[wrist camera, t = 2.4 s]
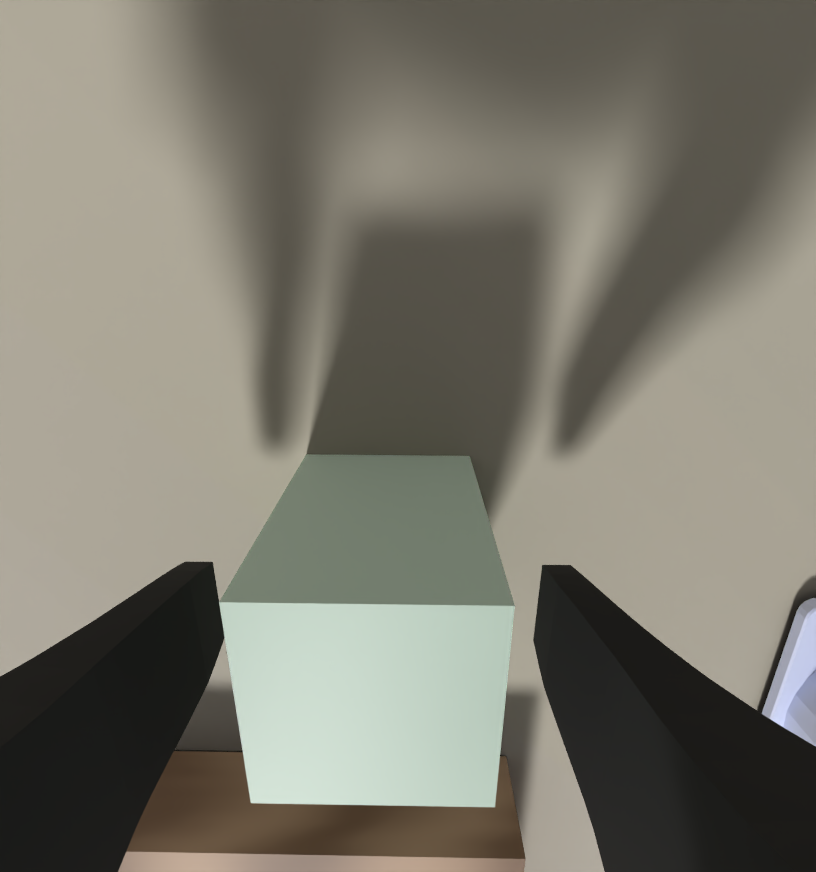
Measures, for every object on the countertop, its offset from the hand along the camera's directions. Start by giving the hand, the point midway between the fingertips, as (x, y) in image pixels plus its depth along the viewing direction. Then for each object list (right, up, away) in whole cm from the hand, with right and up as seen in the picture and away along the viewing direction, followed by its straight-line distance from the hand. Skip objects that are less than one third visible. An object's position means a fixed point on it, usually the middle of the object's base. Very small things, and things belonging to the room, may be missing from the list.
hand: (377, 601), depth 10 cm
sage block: (0, +1, +3) cm, 3 cm away
